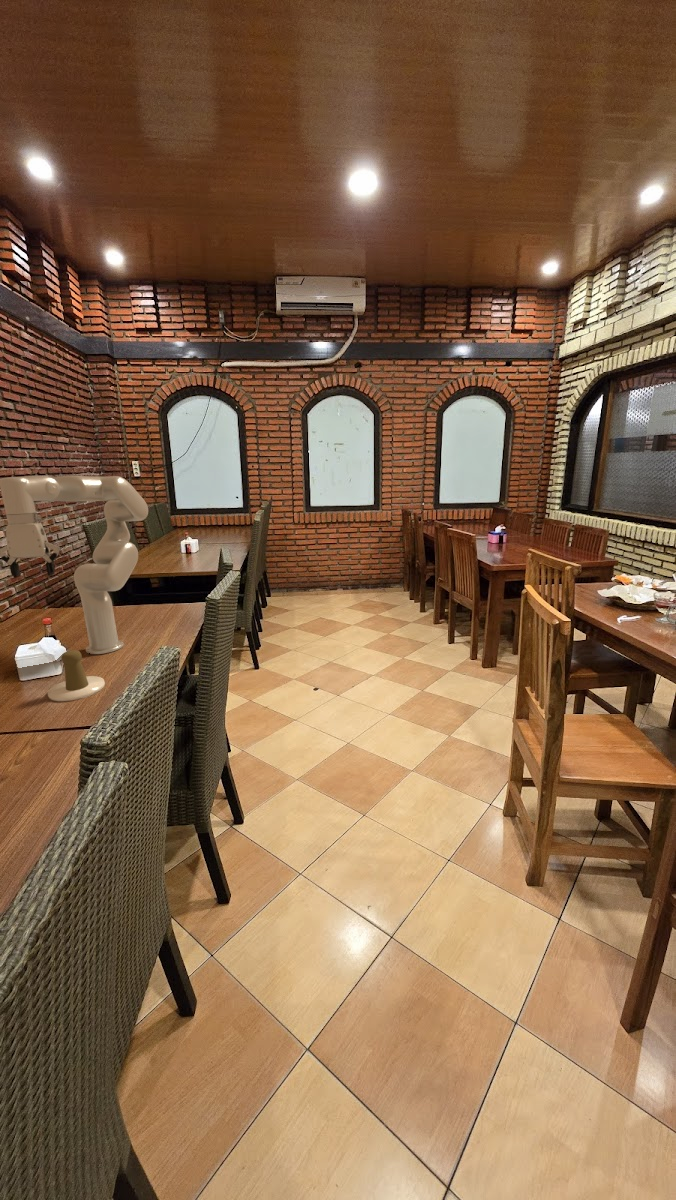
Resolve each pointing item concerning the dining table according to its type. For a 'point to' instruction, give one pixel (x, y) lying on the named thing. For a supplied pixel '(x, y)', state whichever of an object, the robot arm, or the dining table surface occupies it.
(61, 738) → the dining table surface
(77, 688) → the cork
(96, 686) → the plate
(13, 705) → the dining table surface
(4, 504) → the robot arm
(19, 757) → the dining table surface
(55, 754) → the dining table surface
